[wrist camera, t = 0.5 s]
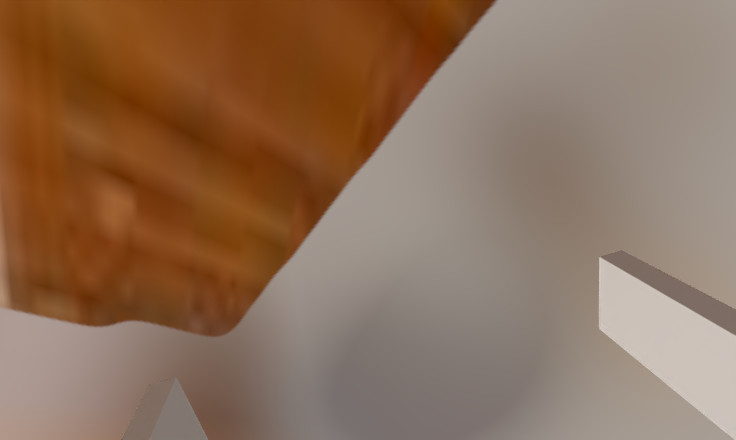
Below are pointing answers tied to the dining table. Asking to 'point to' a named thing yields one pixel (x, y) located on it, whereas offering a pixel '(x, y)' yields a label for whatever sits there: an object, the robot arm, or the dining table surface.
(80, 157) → the dining table surface
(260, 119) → the dining table surface
